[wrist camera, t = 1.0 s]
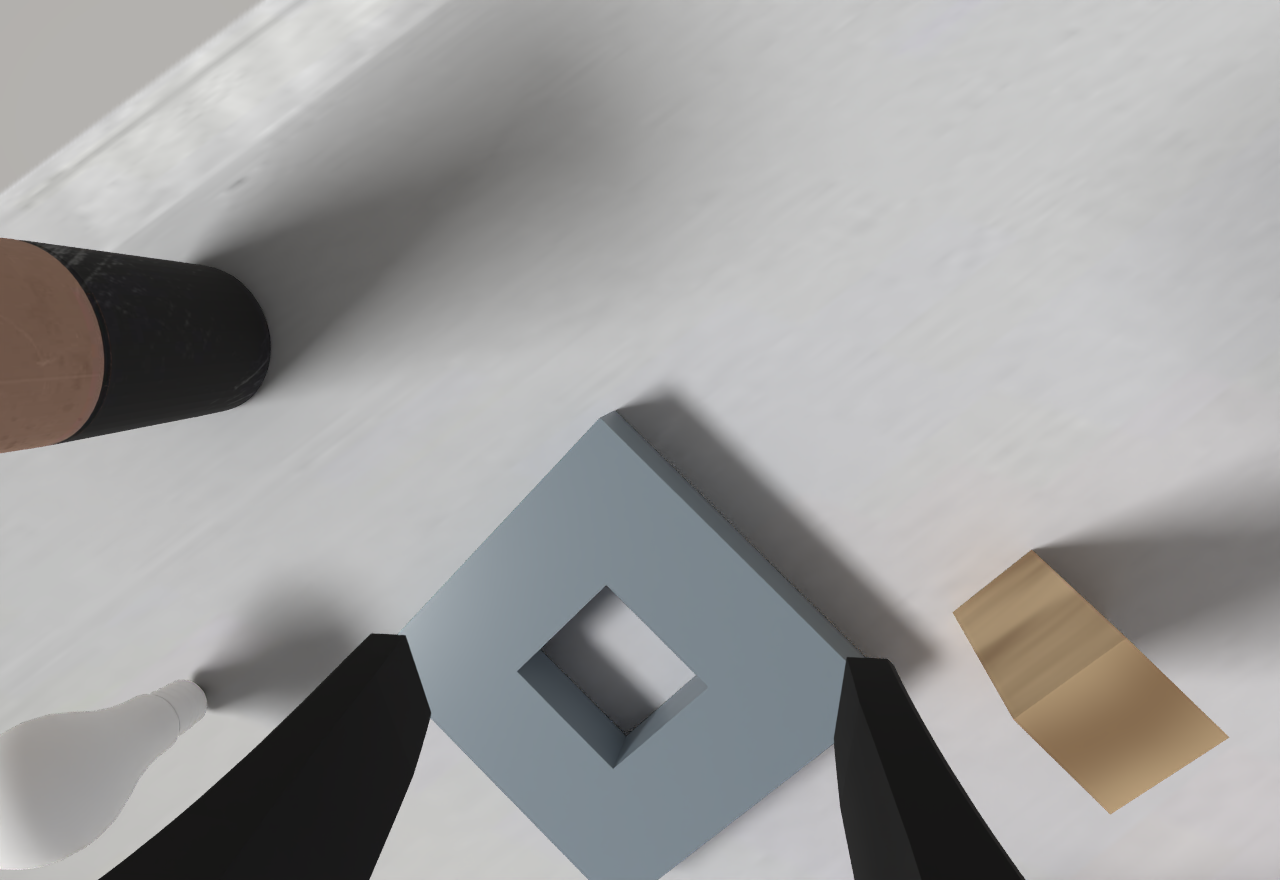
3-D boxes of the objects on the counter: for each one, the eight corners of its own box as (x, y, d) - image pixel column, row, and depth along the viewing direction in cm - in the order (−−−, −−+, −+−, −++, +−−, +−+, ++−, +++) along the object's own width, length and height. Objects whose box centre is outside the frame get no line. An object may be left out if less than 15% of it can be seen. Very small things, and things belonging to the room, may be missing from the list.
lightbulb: (173, 619, 37) (-72, 737, 27) (263, 682, 37) (49, 829, 26) (138, 703, 39) (-107, 846, 28) (223, 765, 38) (6, 935, 28)
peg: (1105, 620, 27) (1229, 737, 20) (1022, 681, 28) (1110, 814, 21) (1031, 549, 28) (1126, 638, 20) (952, 612, 29) (1013, 719, 21)
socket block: (879, 671, 30) (887, 701, 27) (630, 868, 34) (618, 910, 31) (615, 410, 30) (599, 417, 28) (402, 636, 34) (373, 659, 32)
